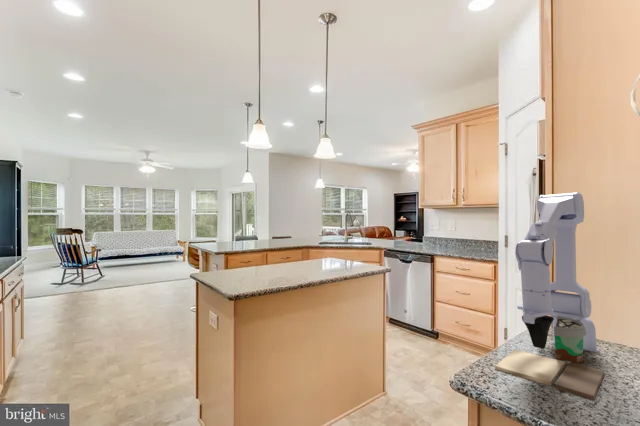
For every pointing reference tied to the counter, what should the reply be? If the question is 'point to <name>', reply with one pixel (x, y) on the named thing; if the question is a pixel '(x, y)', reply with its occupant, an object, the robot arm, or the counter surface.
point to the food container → (569, 340)
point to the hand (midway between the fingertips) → (539, 347)
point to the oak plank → (531, 366)
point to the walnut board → (580, 380)
